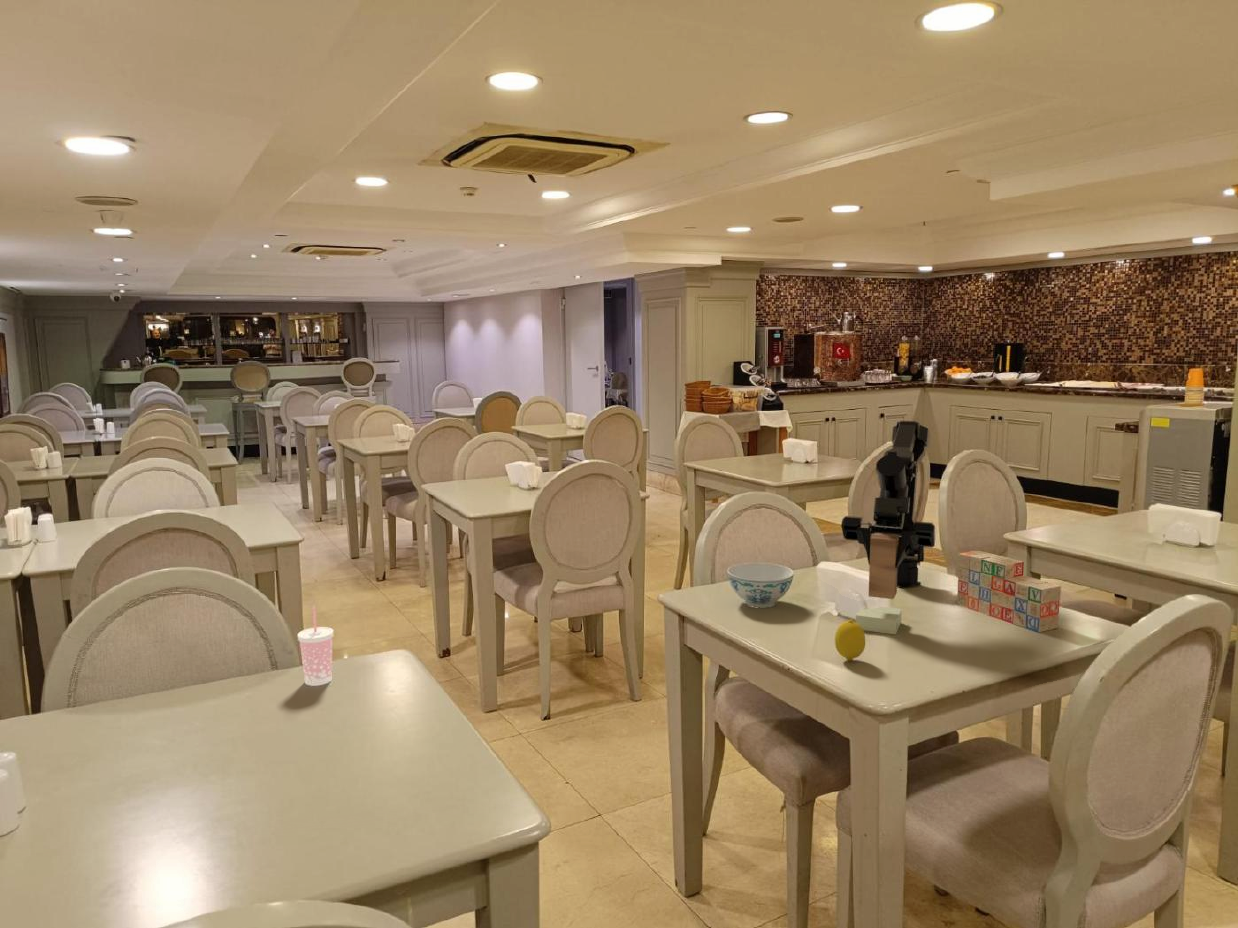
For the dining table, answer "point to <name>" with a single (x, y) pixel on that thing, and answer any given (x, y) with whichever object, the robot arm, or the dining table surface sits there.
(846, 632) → the lemon
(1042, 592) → the stack of blocks
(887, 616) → the base slab
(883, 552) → the pillar
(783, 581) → the chinaware
